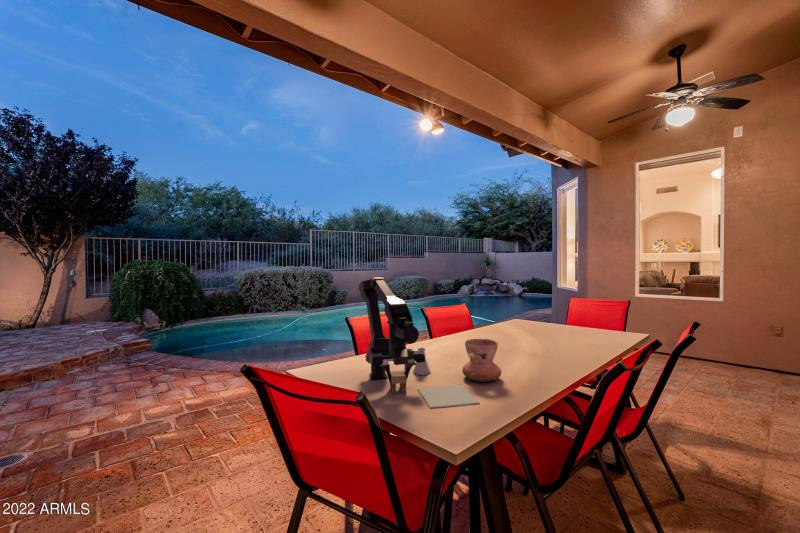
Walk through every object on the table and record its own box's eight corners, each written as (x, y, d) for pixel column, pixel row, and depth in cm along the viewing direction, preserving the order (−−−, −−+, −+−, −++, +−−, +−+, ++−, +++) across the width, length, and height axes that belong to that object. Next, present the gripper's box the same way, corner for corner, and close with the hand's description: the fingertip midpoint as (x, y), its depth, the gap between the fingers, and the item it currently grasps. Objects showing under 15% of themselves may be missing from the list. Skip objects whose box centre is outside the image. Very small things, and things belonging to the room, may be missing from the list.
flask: (429, 376, 133) (429, 351, 133) (411, 375, 135) (411, 350, 135) (431, 370, 140) (431, 346, 140) (414, 369, 142) (414, 346, 142)
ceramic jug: (488, 389, 118) (488, 349, 118) (453, 380, 128) (453, 343, 128) (510, 376, 131) (509, 340, 131) (476, 369, 141) (476, 335, 141)
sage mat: (417, 389, 119) (417, 388, 119) (461, 386, 122) (460, 384, 122) (430, 408, 103) (430, 407, 103) (479, 403, 106) (479, 402, 106)
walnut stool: (389, 387, 121) (389, 371, 121) (403, 386, 122) (403, 370, 122) (392, 394, 115) (392, 376, 115) (406, 392, 116) (406, 375, 116)
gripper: (373, 344, 109) (373, 393, 109) (428, 341, 112) (429, 388, 112) (369, 337, 120) (370, 381, 120) (420, 334, 123) (421, 377, 123)
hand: (397, 382), depth 118 cm, fingers closed on walnut stool, 5 cm apart
